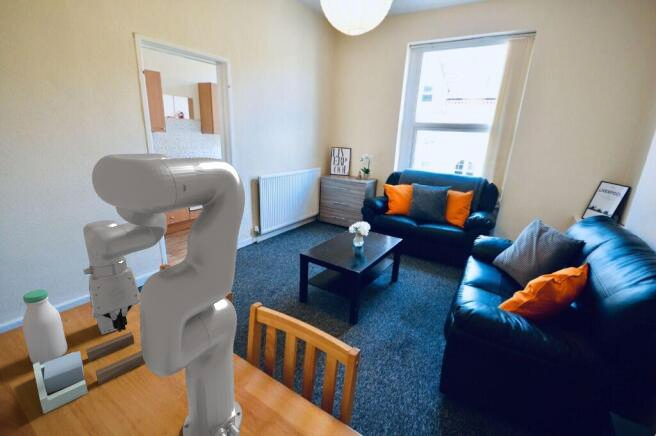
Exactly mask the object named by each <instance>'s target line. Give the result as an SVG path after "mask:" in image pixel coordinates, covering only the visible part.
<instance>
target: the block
mask: <svg viewBox="0 0 656 436" xmlns="http://www.w3.org/2000/svg"><path fill="white" fill-rule="evenodd" d="M71 353H72V354H70V353H68V354H69V355H67V354H65V355H66V356H65V355H63V357H62V356H61V357H60V358H57V359H54V360H51V361H48V362H45V368H44V377H43V379H44V383H45V387H46V392H47V395H48V394H50V393H53V392H57V391H60V390H62V389H65V388H67V387H69V386H72V385H74V384H76V383H78V382H81V381H83V380H85V373H84V363H83V359H82V354H81V351H80V350H78V351H76V352H74V353H73V352H71Z"/></svg>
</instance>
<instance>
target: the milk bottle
mask: <svg viewBox="0 0 656 436" xmlns="http://www.w3.org/2000/svg"><path fill="white" fill-rule="evenodd" d="M22 298H23V301H24V305H26V308H25V313H24V316H23V318H22V321H21V322H22V323H21V324H22V331H23V335H24V340H25V344H26V348H27V351H28V356H29V359H30V362H31V363H32V364H35V363H38V362H39V363H40V365H42V364H44V363H45V362H48V361H51V360H54V359H57V358H60V357H62V356H65V355H66V353H67V351H68V343H67V339H66V335H65V330H64V325H63V322H62V318H61V315H60V312H59V311H58V309H57V308H56V307H54V305H52V304H51V303H50V301H49V300H48V299H49V293H48V291H47V290H46V289H34V290H33V291H32V290H31V291H29V292H26V293H25V294H24V295H23V297H22Z"/></svg>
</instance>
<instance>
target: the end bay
mask: <svg viewBox="0 0 656 436" xmlns="http://www.w3.org/2000/svg"><path fill="white" fill-rule="evenodd" d="M72 353H75V352H74V351H73V352H71V353H68V354H64V355H63V356H66V355H69V354H72ZM63 356H61V357H63ZM32 366H33V371H34V377H35V382H36V387H37V391H38V392H37V393H38V397H39V400H40V405H41V409H42V413H43V414H44V415H45V414H47V413H49V412H51V411H54V410H55V409H57V408H59V407H61V406H63V405H66V404H68V403H70V402H72V401H75V400H76V399H78V398H80V397H83V396H85V395H87V394H88V393H89V391H88V387H87V382H86V380H85V379H84V380H82V381H79V382H77V383H74V384H72V385H69V386H66V387H64V388H62V389H60V390H57V391H55V392H54V393H52V394H50V395H48V394H47V390H46V386H45V382H44V368H45V363H44V364H40V363H39V362H38V363H35V364H34V363H32Z"/></svg>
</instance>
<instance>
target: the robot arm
mask: <svg viewBox="0 0 656 436" xmlns="http://www.w3.org/2000/svg"><path fill="white" fill-rule="evenodd" d="M91 181H92V182H91V183H92V187H93V189H94V192H95V193H96V194H97V196H98V197H99V198H100V199H101V200H102V201H103V202H105V203H107V204H109V205H111V206H113V207H115V209H116V212H117V214H118V216H119V217H120V218H121V219H122V220H124V221H125V223H121V224H119V222H118V221H115V220H110V219H107V220H104V219H103V220H98V221H97V220H96V221H92V222H90V223H87V224H85V226H84V227H83V230H82V231H83V233H82V234H83V237H84V242H85V246H86V247H85V248H86V251H87V258H88V262H89V266H88V267H87V268H86V269H85V268H84V269H82V270H83V274H84V275H85V276H86V275H89V277H88V279H89V280H88V292H89V300H90V306H91V308H92V312H91V316H92V318H93V319H96V318H99V317H107V318H110V319H112V323H113V327H114V329H117V330H116V331H118V333H120V332H122V331H126V329H127V327H126V326H127V325H128V319H127V315H128V313H129V312H130V310H131V309H132V307H134V306H137V305H138V304H139V324H140V325H139V327H140V328H139V329H140V331H139V332H140V333H139V334H140V347H141V348H140V349H141V350H140V351H142V355H143V359H144V362H145V363H144V364H145V366H146V367H147V370H149V371H150V372H151V373H152V374H153V375H155V376H157V377H162V378H167V377H171V376H174V375H176V374H178V373H179V372H181V371H182V370H184V372H185V383H186V394H187V405H188V407H187V408H188V415H186V417H185V420H184V422H183V426H182V436H240V435H241V431H240V429H241V426H240V425H242V422H243V411H242V407H241V405H240V403H239V402H238V401H236V399H235V380H234V379H235V378H234V377H235V376H234V374H235V373H234V372H235V371H234V342H235V337H236V333H237V327H238V326H237V325H238V316H237V311H236V309H235V305H233V303H232V302H231V301H230V300H229V299H228V298H227V297H228V296H229V294H230V293H231V292H232V289H233V286H234V280H235V274H236V273H235V271H236V264H237V263H236V262H237V255H238V254H237V253H238V252H237V251H238V242H239V241H238V240H239V234H240V230H241V225H242V221H243V217H244V213H245V204H246V193H245V187H244V184H243V181H242V179H241V176H240V175H239V173H238V170H236V169H235V167H234V166H232V165H231V163H229V162H227V161H225V160H223V159H219V158H214V157H196V156H195V157H182V158H181V157H180V158H179V157H178V158H173V157H170V156H169V155H166V154H161V153H119V154H118V153H113V154H108V155H104V156H103V157H101V158H100V159H99V160H98V161H97V162H96V163H95V165H94V167H93V169H92V173H91ZM200 206H202V209H201V211H200V212H199V214H198V215H197V216H196V218H195V220H194V221H193V223H192V225H191V227H190V229H189V231H188V236H187V248H186V255H185V258H184V259H183V260H182V261H180V262H179V263H176V264H174V265H171V266H169V267H165V268H163V269H161V270H159V271H157V272H154V273H153V274H151V275H150V276H149V277H147V279H146V280H145V282H144V283H143V284H142V287H141V290H140V292H139V287H138V284H137V281H136V277H135V274H134V272H133V269H132V268H131V267H129V266H128V263H127V259H126V258H127V257H126V256H128V255H130V254H133V253H137V252H139V251H144V250H147V249H150V248H153V247H154V246H156V245H157V244H158V243H159V242H160V241H161V240H162V239H163V238H164V236H165V234H166V233H167V230H168V221H167V220H168V219H167V216H166V214H167V213H169V212H170V213H171V212H175V211H181V210H185V209H190V208H195V207H200ZM116 310H119V313H118V315H117V314H116V313H115V311H116Z"/></svg>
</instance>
